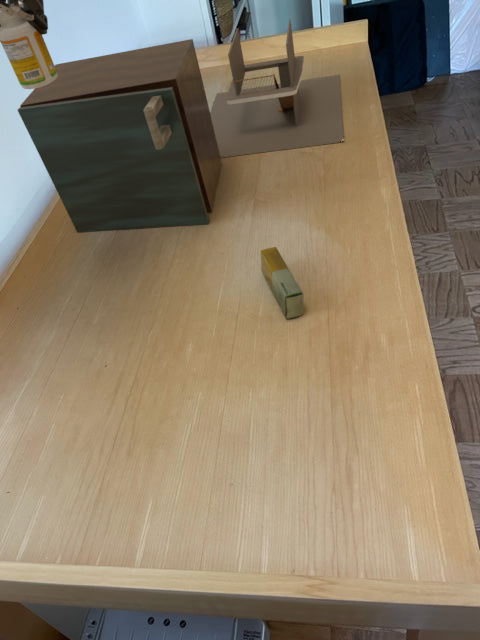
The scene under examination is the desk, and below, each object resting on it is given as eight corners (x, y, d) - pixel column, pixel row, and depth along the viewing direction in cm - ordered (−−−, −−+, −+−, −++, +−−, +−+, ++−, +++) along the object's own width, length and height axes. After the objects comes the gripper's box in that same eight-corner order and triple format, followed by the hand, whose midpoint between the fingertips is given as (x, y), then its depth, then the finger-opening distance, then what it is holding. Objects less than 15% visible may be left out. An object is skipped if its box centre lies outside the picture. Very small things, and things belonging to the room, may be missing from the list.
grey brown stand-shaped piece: (339, 74, 132) (335, -3, 120) (344, 141, 107) (339, 53, 96) (216, 93, 138) (200, 22, 127) (194, 161, 114) (172, 80, 102)
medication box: (304, 315, 75) (304, 294, 72) (286, 320, 74) (285, 299, 72) (277, 265, 83) (275, 244, 81) (260, 270, 83) (258, 249, 80)
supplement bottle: (45, 72, 78) (13, -2, 72) (66, 76, 75) (35, -2, 69) (14, 88, 76) (-21, 12, 69) (35, 92, 73) (0, 13, 66)
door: (202, 242, 92) (161, 105, 75) (66, 249, 99) (1, 124, 82) (209, 221, 96) (172, 86, 80) (79, 229, 103) (19, 107, 86)
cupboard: (212, 213, 98) (175, 78, 81) (79, 229, 103) (19, 105, 86) (222, 164, 111) (192, 38, 94) (103, 180, 116) (55, 64, 99)
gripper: (-13, -106, 54) (71, -6, 71) (-132, -76, 57) (-25, 14, 74) (-8, -33, 54) (74, 50, 71) (-128, -6, 57) (-21, 67, 74)
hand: (23, 31), depth 72 cm, fingers closed on supplement bottle, 5 cm apart
